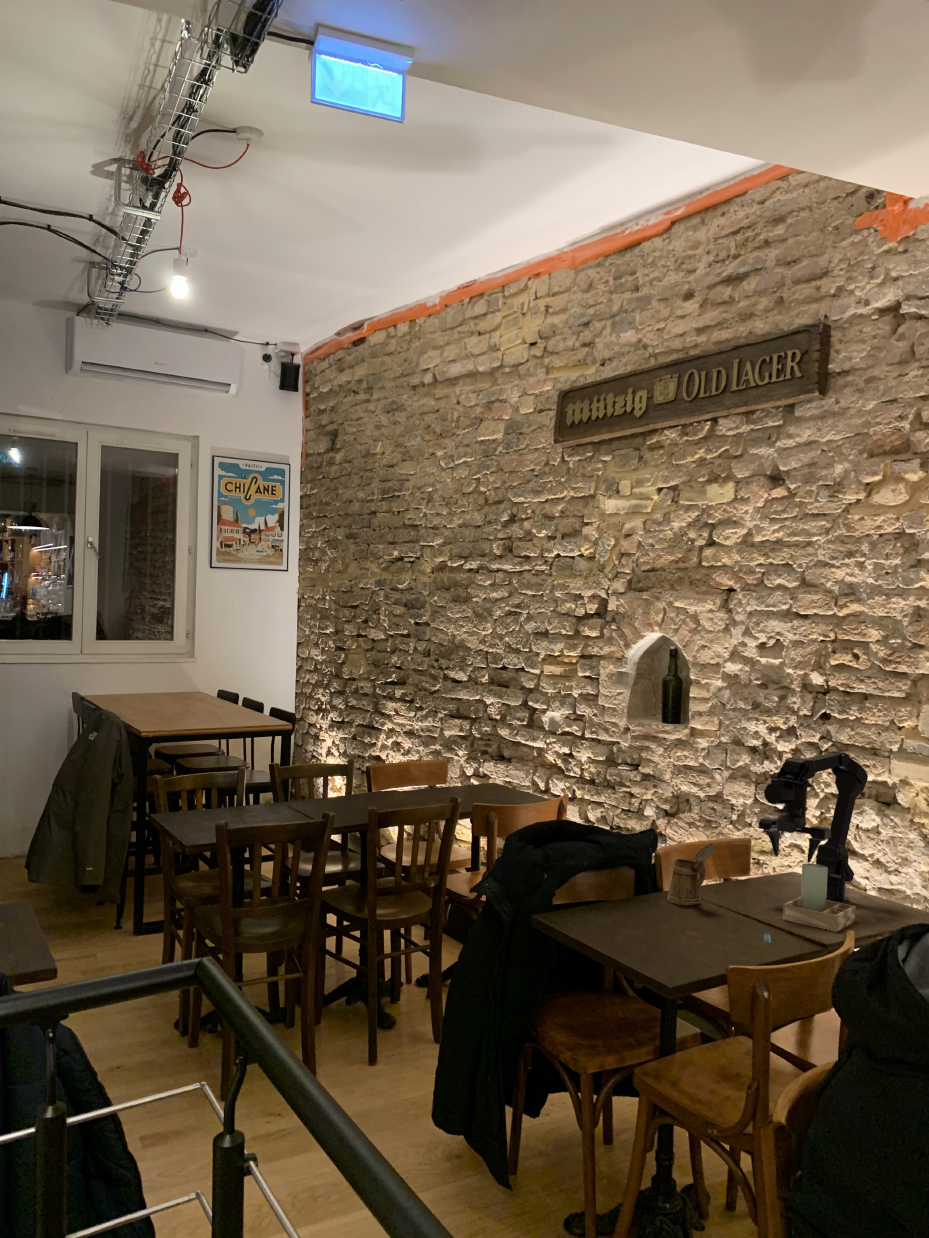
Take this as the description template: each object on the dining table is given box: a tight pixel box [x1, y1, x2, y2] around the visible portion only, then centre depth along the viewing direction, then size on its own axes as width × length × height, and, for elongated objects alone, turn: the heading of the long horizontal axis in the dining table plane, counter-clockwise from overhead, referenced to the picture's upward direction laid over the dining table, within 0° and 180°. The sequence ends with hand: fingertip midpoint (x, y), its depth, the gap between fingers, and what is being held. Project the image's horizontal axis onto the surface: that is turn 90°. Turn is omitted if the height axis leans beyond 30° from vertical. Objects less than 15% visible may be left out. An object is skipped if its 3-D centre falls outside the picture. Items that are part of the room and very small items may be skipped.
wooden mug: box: [666, 843, 716, 907], centre depth 265 cm, size 9×14×18 cm, turn 37°
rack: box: [782, 896, 857, 933], centre depth 255 cm, size 15×14×4 cm
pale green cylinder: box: [800, 862, 828, 912], centre depth 256 cm, size 6×6×13 cm
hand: (792, 859), depth 268 cm, fingers open, 9 cm apart
